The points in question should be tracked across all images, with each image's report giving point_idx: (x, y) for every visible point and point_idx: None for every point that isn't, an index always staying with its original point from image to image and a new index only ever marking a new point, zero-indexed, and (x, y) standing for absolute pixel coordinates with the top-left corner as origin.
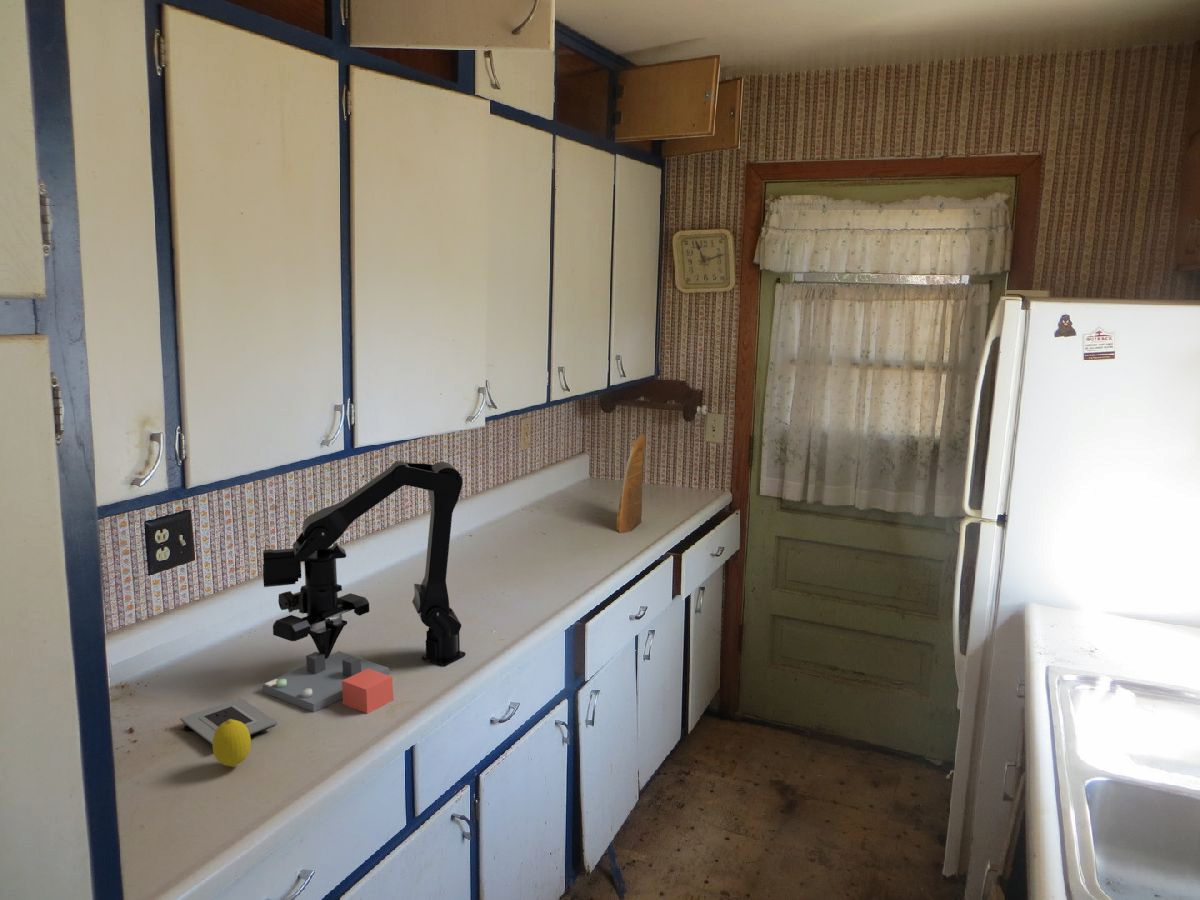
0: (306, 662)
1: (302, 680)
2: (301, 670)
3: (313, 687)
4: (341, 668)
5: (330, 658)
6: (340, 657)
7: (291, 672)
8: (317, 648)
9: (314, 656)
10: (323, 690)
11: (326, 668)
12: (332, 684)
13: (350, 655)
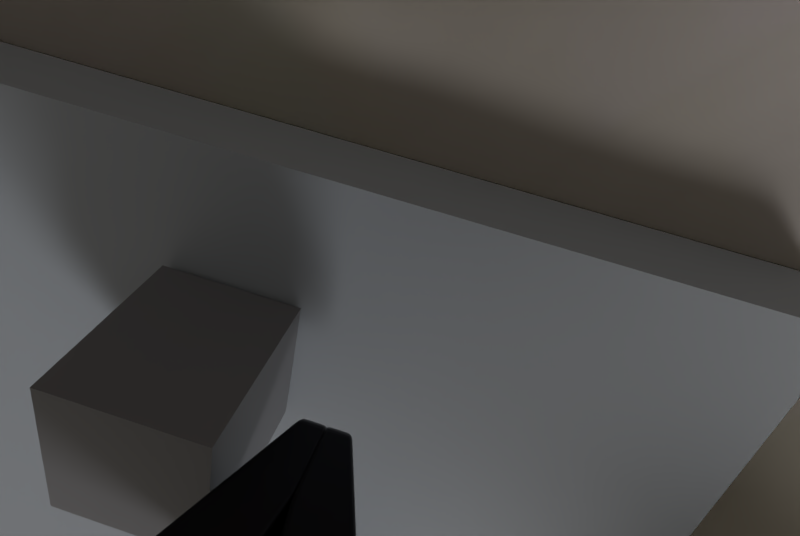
0: (99, 325)
1: (19, 322)
2: (148, 193)
3: (10, 447)
4: (378, 511)
5: (565, 338)
6: (625, 424)
7: (46, 113)
8: (183, 519)
9: (96, 480)
10: (33, 513)
11: (315, 404)
12: (126, 534)
13: (710, 493)
